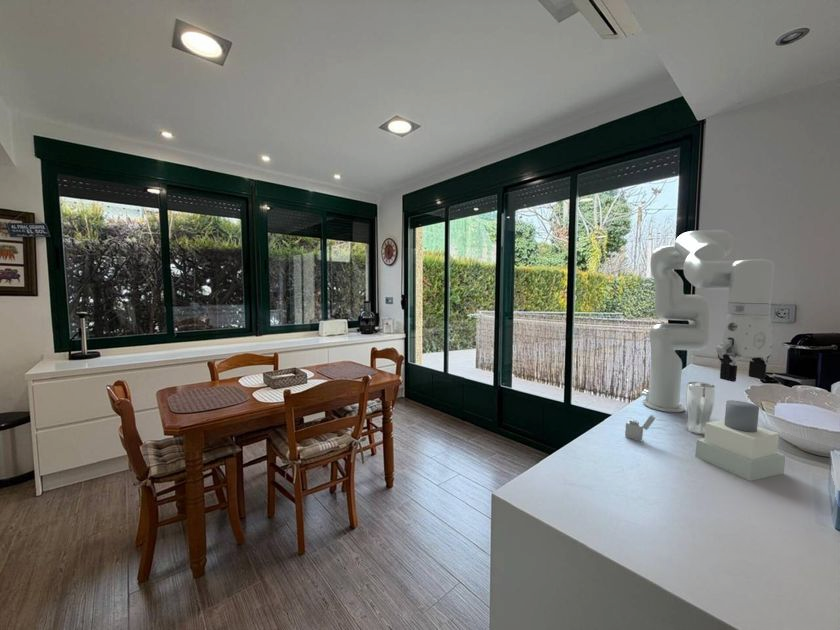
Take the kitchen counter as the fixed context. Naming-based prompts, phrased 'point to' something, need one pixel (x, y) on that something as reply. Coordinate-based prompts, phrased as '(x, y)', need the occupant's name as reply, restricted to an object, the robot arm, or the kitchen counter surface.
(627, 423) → the lighter
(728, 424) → the cylinder
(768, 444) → the tower top block
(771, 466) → the tower bottom block
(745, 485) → the kitchen counter surface
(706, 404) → the beer glass
